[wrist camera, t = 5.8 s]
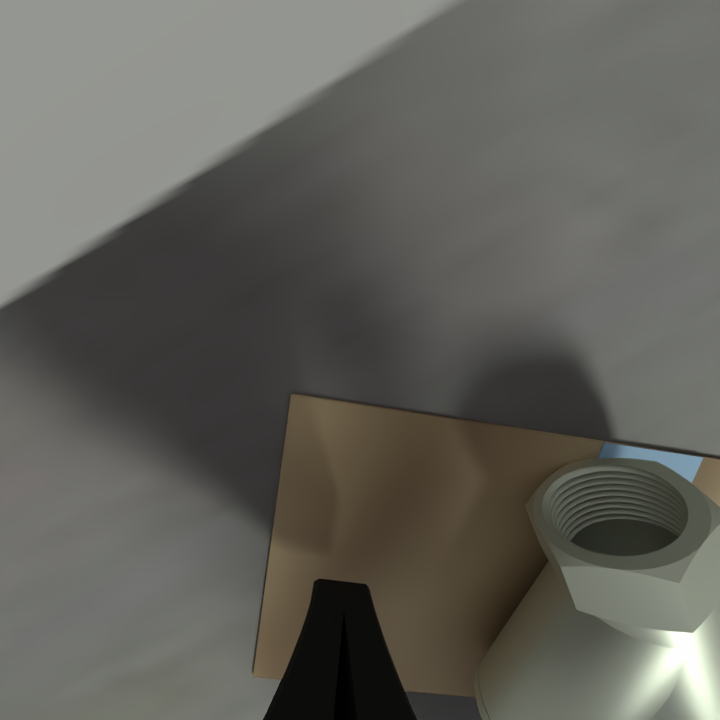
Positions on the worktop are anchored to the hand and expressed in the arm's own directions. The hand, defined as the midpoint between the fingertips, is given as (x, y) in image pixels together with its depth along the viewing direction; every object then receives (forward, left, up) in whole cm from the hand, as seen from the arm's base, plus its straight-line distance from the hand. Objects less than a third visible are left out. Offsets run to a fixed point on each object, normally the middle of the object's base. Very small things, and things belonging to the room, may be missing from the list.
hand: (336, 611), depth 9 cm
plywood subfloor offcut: (-8, 0, -2) cm, 8 cm away
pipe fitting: (-7, 0, -2) cm, 7 cm away
